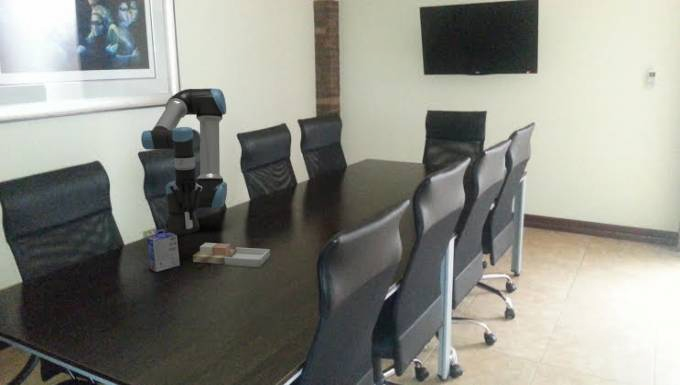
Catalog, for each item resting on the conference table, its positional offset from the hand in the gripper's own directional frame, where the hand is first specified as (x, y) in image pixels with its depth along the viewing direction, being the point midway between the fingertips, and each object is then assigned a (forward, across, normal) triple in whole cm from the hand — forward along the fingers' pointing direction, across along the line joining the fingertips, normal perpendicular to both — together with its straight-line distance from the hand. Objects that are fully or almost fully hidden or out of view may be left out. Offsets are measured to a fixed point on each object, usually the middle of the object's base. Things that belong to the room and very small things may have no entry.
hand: (189, 227), depth 217 cm
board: (+12, +9, 0) cm, 15 cm away
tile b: (+10, +13, 0) cm, 16 cm away
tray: (+12, +23, 0) cm, 26 cm away
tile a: (+10, +7, 0) cm, 12 cm away
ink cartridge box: (+13, -5, -12) cm, 18 cm away
